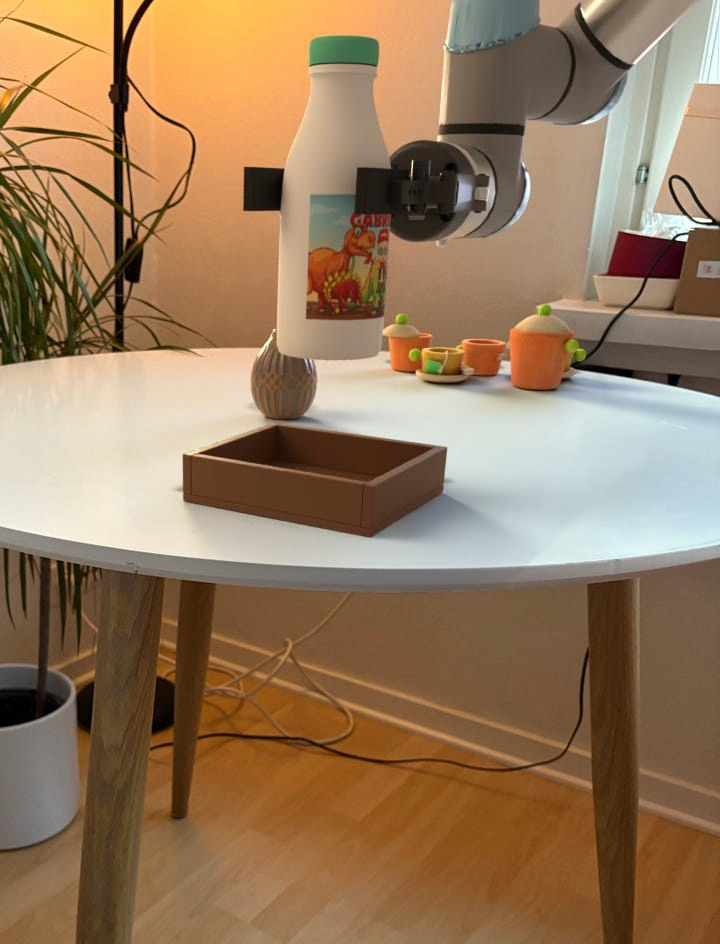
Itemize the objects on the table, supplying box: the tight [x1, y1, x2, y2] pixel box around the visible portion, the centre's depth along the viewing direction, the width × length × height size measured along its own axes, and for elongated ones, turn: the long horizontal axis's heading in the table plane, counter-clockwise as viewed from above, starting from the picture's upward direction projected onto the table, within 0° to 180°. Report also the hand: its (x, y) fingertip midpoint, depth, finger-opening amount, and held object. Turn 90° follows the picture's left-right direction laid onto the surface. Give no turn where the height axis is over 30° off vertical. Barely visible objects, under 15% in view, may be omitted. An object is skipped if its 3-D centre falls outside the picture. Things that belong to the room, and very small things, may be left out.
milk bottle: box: [276, 34, 391, 361], centre depth 68 cm, size 8×8×20 cm
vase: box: [250, 327, 318, 420], centre depth 102 cm, size 7×7×9 cm
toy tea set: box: [383, 303, 587, 391], centre depth 125 cm, size 26×16×10 cm, turn 74°
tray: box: [182, 422, 448, 538], centre depth 75 cm, size 16×14×4 cm
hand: (303, 190), depth 64 cm, fingers closed on milk bottle, 8 cm apart
